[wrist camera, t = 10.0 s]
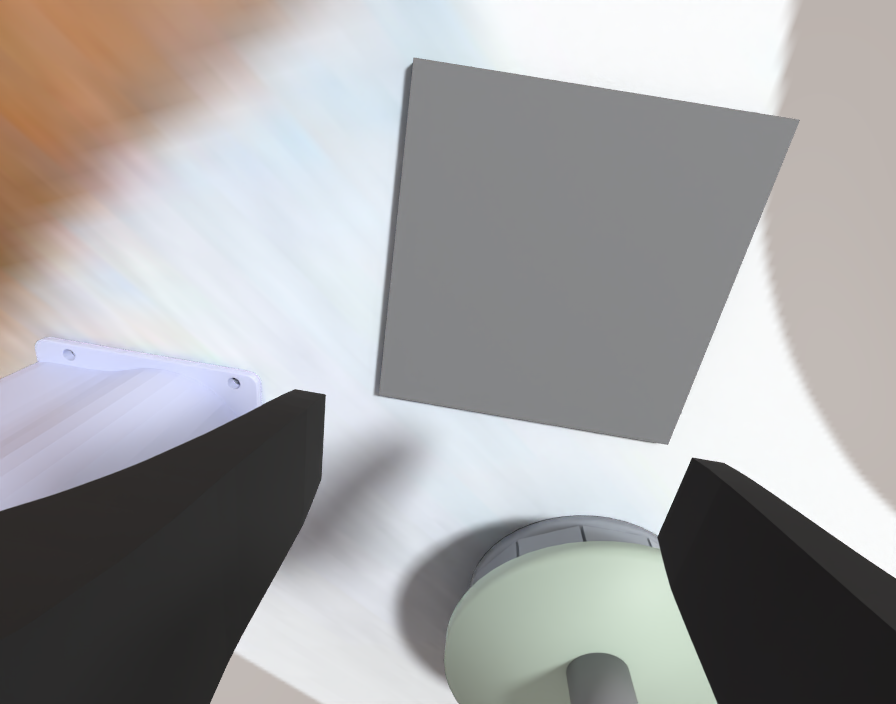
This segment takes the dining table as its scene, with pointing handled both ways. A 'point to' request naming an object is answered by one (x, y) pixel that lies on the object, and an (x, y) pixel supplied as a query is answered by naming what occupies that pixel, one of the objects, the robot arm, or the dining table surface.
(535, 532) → the bowl
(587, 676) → the lid
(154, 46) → the dining table surface
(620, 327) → the mat
